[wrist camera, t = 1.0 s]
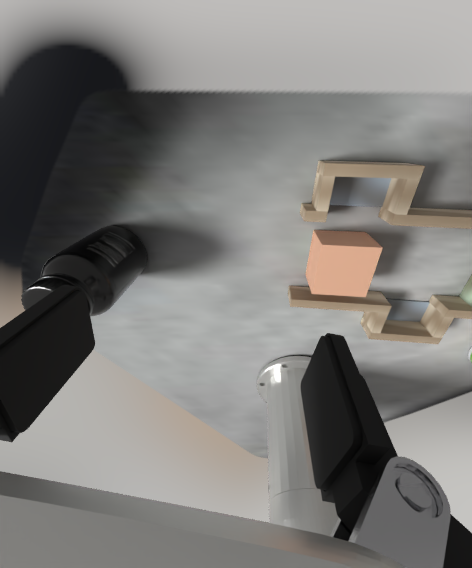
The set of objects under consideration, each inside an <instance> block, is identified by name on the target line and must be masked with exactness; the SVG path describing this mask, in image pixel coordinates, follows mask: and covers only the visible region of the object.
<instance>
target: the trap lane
mask: <svg viewBox="0 0 472 568" xmlns="http://www.w3.org/2000/svg"><path fill="white" fill-rule="evenodd" d="M424 167H425V166H422V165H416V164H410V163H388V162H352V161H319V162H318V168H317V174H316V179H315V185H314V191H313V197H312V203H311V204H303V203H302V204H301V210H300V214H301V216H302V218H303V220H304V221H309V222H326V218H327V213H328V209H329V205H343V206H369V207H381V210H380V213H379V216H378V217H380V218H381V219H383V220H384V221H386V222H388V223H389V224H391V225H399V226H422V227H444V228H467V229H472V210H456V209H430V208H410V205H411V202H412V200H413V197H414V194H415V192H416V189H417V186H418V184H419V181H420V178H421V176H422V173H423V170H424ZM288 296H289V302H290V307H305V308H319V309H334V310H348V311H363V312H364V315H363V318H362V320H361V325H362V327H363V329H364V330H365V332H366V334H367V336H368V338H369V339H377V340H390V341H403V342H416V343H429V344H439V342H440V340H441V339H442V337H443V335H444V334H445V332H446V331H447V329H448V327H449V326H450V324H451V322H452V321H453V319H454V318H465V319H472V275H471V277H470V278H469V280H468V282H467V284H466V285H465V287H464V289H463V291H462V292H461V294H460V296H459V297H458V296H442V295H432V297H431V299H430V301H429V302H425V301H409V300H394V299H386V298H385V297H384V295H383V294H382V293H381V292H378V291H368V292H367V295H366V297H354V296H337V295H321V294H312V293H311V290H310V287H299V286H289V289H288Z"/></svg>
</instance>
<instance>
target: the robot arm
mask: <svg viewBox="0 0 472 568" xmlns="http://www.w3.org/2000/svg"><path fill="white" fill-rule="evenodd" d="M94 346H95V340H94V334H93V329H92V324H91V319H90V313H89V308H88V303H87V298H86V294H85V293H84V292H83V291H82V289H81V288H79V287H74V286H69V285H62V286H60V287H58V288H57V289H56V290H54V291H53V292H51V293H50V294H48V295H47V296H46V297H44V298H43V299H41V300H40V301H38V302H37V303H36V304H34V305H33V306H31V307H30V308H28V309H27V310H26V311H24V312H23V313H21V314H20V315H18V316H17V317H16V318H14V319H13V320H11V321H10V322H8V323H7V324H6V325H4V326H3V327H1V328H0V440H3V441H9V442H13V440H14V439H15V438H16V437H17V436H18V434H19V433H22V432H24V431H25V430H26V429H28V428H29V427H30V425H31V424H32V423H33V422H34V421H35V419H36V418H37V417H38V416H39V414H40V413H41V412H42V411H43V410H44V408H45V407H46V406H47V405H48V404H49V402H50V401H51V400H52V399H53V397H54V396H55V395H56V394H57V393H58V392H59V390H60V389H61V388H62V387H63V386H64V384H65V383H66V382H67V381H68V379H69V378H70V377H71V376H72V375H73V373H74V372H75V371H76V370H77V369H78V367H79V366H80V365H81V364H82V363H83V361H84V360H85V359H86V358H87V357H88V355H89V354H90V353H91V352H92V350H93V348H94ZM257 390H258V393H259V395H260V397H261V398H262V399H263V400H264V401H265V402H266V403H267V426H268V479H269V480H268V482H269V520H270V523H268V522H262V521H257V520H252V519H247V518H242V517H237V516H232V515H227V514H222V513H217V512H211V511H206V510H201V509H196V508H191V507H185V506H181V505H176V504H171V503H165V502H159V501H154V500H149V499H144V498H139V497H134V496H129V495H123V494H118V493H113V492H108V491H102V490H97V489H92V488H87V487H81V486H76V485H71V484H65V483H60V482H55V481H49V480H44V479H38V478H33V477H27V476H22V475H17V474H11V473H6V472H0V568H472V533H471V532H470V531H468V529H466V528H465V527H464V526H463V525H462V524H461V523H460V522H459V521H457V520H456V519H455V518H454V517H453V516H452V515H451V514H450V505H449V502H448V500H447V497H446V495H445V493H444V491H443V490H442V488H441V486H440V485H439V483H438V482H437V481H436V480H435V478H434V477H433V476H432V475H431V474H430V473H429V472H428V471H427V470H426V469H425V468H423V467H422V466H421V465H419V464H418V463H416V462H415V461H413V460H410V459H408V458H405V457H398V456H397V453H396V451H395V449H394V447H393V444H392V442H391V440H390V437H389V435H388V433H387V430H386V428H385V426H384V423H383V421H382V419H381V416H380V414H379V412H378V409H377V407H376V405H375V402H374V400H373V398H372V395H371V393H370V391H369V388H368V386H367V384H366V381H365V379H364V378H363V376H362V375H360V374H359V371H358V369H357V366H356V364H355V362H354V359H353V357H352V354H351V352H350V350H349V347H348V345H347V342H346V340H345V338H344V337H343V336H341V335H335V334H330V333H327V334H326V335H325V336H321V338H320V340H319V342H318V344H317V346H316V349H315V351H314V353H313V355H312V358H311V357H306V356H289V357H284V358H280V359H277V360H275V361H273V362H271V363H269V364H268V365H266V366H265V367H264V368H263V369H262V370H261V372H260V373H259V376H258V379H257Z"/></svg>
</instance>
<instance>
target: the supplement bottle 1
mask: <svg viewBox="0 0 472 568" xmlns="http://www.w3.org/2000/svg"><path fill="white" fill-rule="evenodd" d="M146 264H147V253H146V249H145V247H144V245H143V243H142V242H141V241H140V239H139V238H138V237H137V236H136V235H135V234H133V233H132V232H130V231H129V230H127V229H125V228H122V227H118V226H107V227H103V228H101V229H99V230H97V231H95V232H94V233H92V234H90V235H88V236H87V237H85V238H83V239H82V240H80V241H78V242H76V243H75V244H73V245H71V246H70V247H68V248H66V249H64V250H63V251H61V252H59V253H57V254H56V255H54V256H53V257H51V258H50V259H49V260H48V261H47V262H46V263H45V265H44V266H43V269H42V273H41V278H40V279H38V280H37V281H36V282H35V283H34V284H32V285H30V286H29V287H27V288H26V289H25V291H24V292H23V295H22V299H21V300H22V304H23V306H24V309H25V310H27V309H28V308H30V307H31V306H33V305H34V304H36V303H37V302H38V301H40V300H41V299H43V298H44V297H46V296H47V295H48V294H50V293H51V292H53V291H54V290H56V289H57V288H58V287H60V286H62V285H69V286H74V287H79V288H81V289H82V291H83V292H84V293H85V294H86V298H87V303H88V308H89V313H90V316H96V315H99V314H102V313H104V312H106V311H107V310H109V309H110V308H111V307H112V306H113V305H114V303H115V302H116V301H117V300H118V299H119V298H120V297H121V296H122V294H123V293H124V292H125V291H126V290H127V289H128V288H129V286H130V285H131V284H132V283H133V282H134V281H135V280H136V278H137V277H138V276H139V275H140V274H141V273H142V271H143V270H144V268H145V267H146Z"/></svg>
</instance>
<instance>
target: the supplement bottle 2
mask: <svg viewBox="0 0 472 568" xmlns="http://www.w3.org/2000/svg"><path fill="white" fill-rule="evenodd" d="M468 358H469V360H470V361H471V362H472V347H471V348H470V350H469V352H468Z"/></svg>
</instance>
